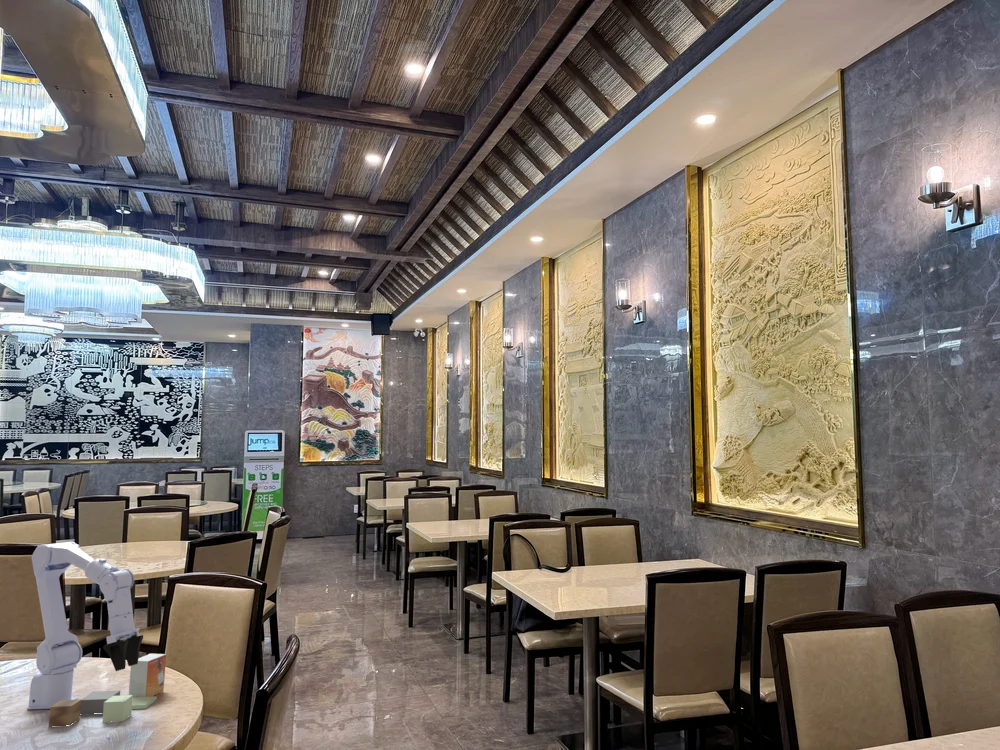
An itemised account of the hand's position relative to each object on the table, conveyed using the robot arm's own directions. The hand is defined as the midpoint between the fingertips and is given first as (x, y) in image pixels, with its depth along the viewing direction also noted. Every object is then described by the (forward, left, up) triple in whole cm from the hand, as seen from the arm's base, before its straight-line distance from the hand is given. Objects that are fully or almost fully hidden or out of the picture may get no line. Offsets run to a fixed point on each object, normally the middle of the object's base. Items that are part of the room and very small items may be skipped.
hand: (126, 667), depth 177 cm
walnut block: (-13, -4, -12) cm, 18 cm away
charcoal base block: (-8, +5, -12) cm, 16 cm away
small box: (-1, +16, -12) cm, 20 cm away
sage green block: (-1, -2, -12) cm, 12 cm away
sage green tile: (0, +8, -12) cm, 14 cm away
